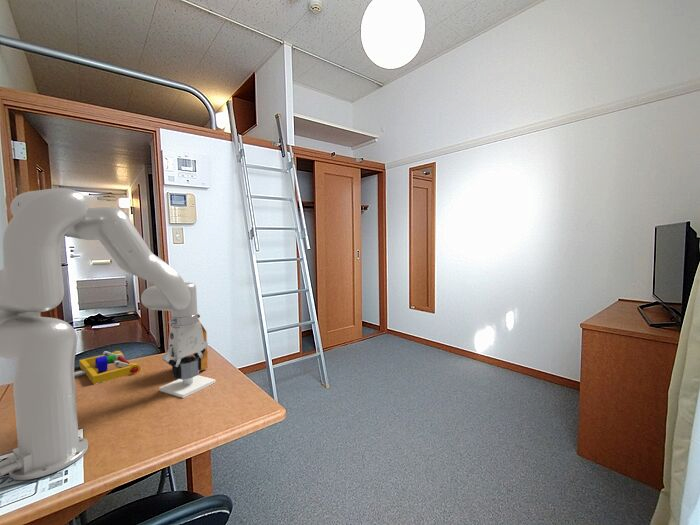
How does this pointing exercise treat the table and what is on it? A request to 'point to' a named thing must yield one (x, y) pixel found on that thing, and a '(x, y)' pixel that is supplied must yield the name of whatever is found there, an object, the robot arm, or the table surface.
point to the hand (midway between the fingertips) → (187, 372)
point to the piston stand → (186, 386)
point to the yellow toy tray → (100, 364)
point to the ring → (189, 367)
